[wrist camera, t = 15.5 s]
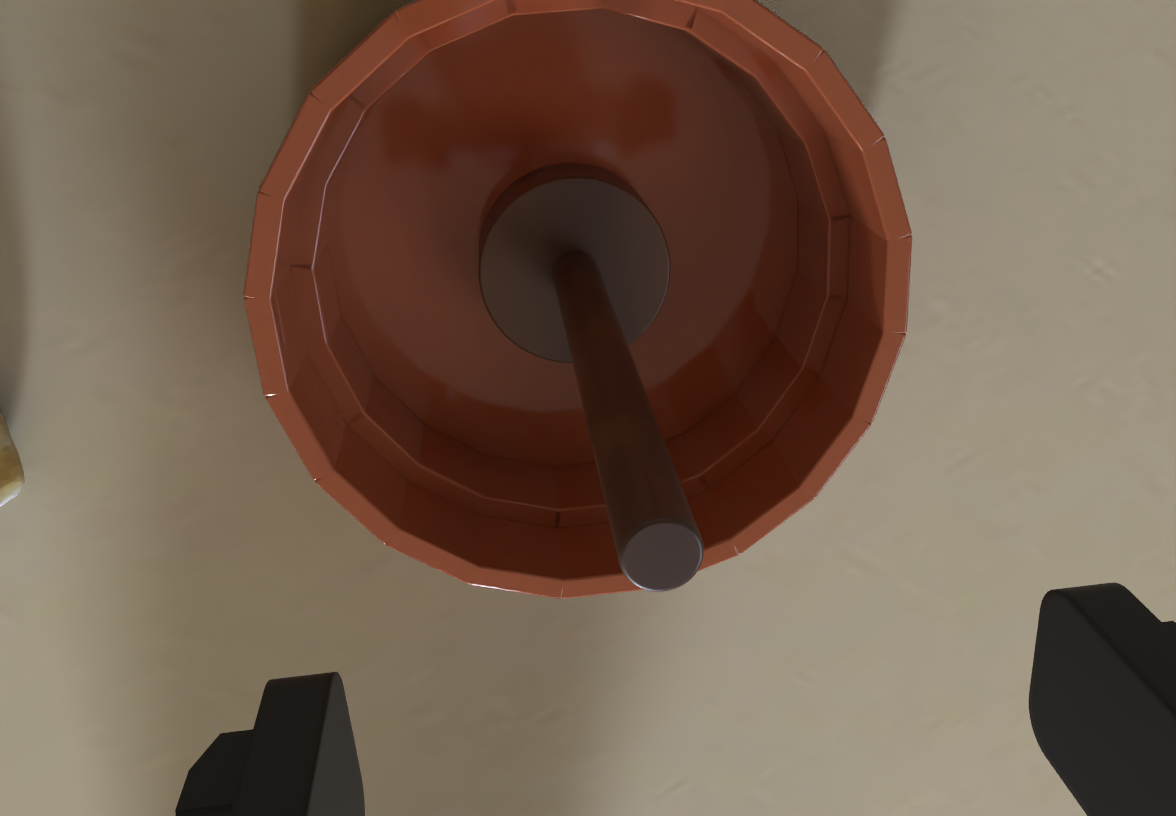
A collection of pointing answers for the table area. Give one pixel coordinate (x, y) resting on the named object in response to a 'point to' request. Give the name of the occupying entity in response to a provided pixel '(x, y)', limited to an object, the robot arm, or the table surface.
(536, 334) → the brown plunger
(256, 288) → the mixing bowl
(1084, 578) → the table surface
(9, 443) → the pastry
